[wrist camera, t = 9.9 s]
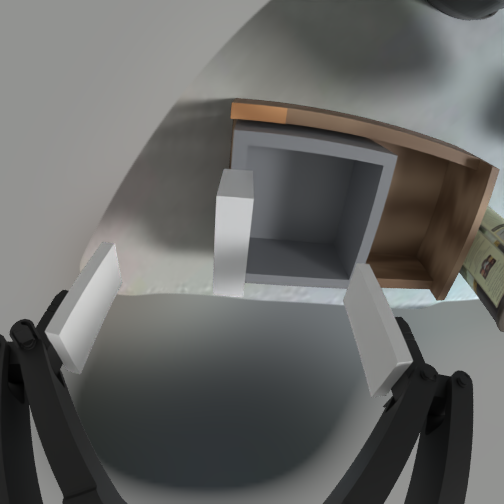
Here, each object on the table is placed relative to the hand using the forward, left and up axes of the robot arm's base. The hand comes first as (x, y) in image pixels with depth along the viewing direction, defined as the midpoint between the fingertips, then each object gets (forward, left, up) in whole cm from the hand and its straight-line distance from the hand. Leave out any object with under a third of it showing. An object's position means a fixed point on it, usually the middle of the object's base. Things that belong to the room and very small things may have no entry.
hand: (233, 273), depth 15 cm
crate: (0, +5, -14) cm, 15 cm away
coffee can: (+3, +32, -16) cm, 36 cm away
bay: (0, +11, -16) cm, 20 cm away
